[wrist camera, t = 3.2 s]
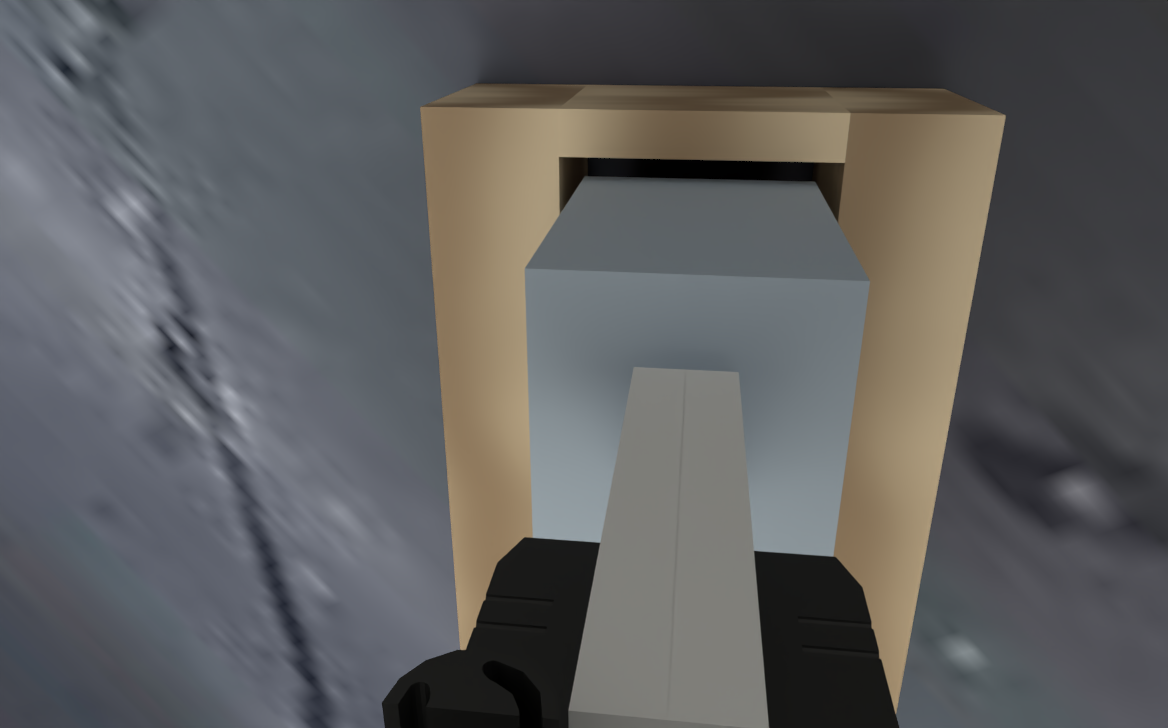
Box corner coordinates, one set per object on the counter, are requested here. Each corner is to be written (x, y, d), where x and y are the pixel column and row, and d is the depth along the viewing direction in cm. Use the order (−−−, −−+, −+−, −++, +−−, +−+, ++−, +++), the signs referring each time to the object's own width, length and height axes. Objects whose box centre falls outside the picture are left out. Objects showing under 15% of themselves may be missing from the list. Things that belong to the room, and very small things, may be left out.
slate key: (815, 181, 19) (870, 281, 12) (793, 391, 21) (831, 570, 14) (584, 176, 19) (525, 268, 13) (585, 381, 21) (533, 548, 15)
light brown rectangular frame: (943, 88, 22) (1005, 115, 17) (842, 743, 31) (866, 875, 26) (476, 83, 23) (420, 106, 19) (506, 710, 32) (473, 830, 27)
